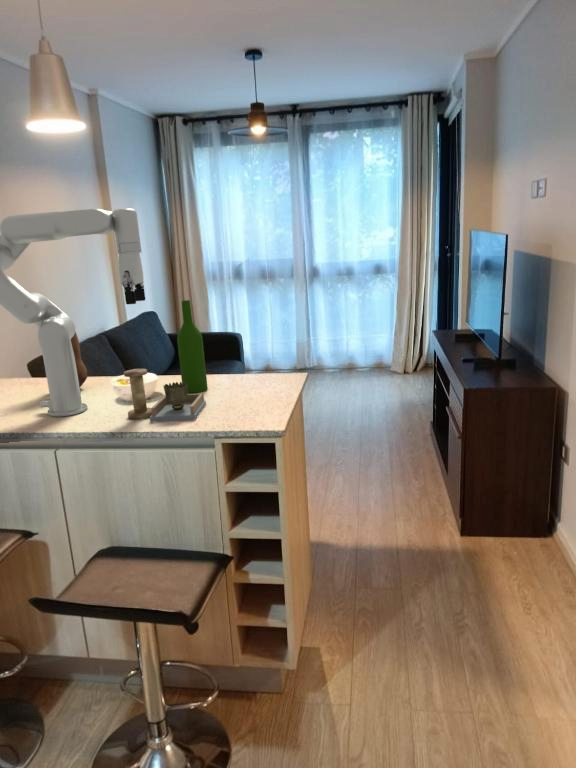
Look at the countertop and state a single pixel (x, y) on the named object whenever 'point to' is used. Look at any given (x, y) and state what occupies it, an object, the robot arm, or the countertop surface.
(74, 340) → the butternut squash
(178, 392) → the cup
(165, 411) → the wooden tray
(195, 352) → the wine bottle
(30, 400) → the countertop surface
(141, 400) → the bobbin post
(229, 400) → the countertop surface
